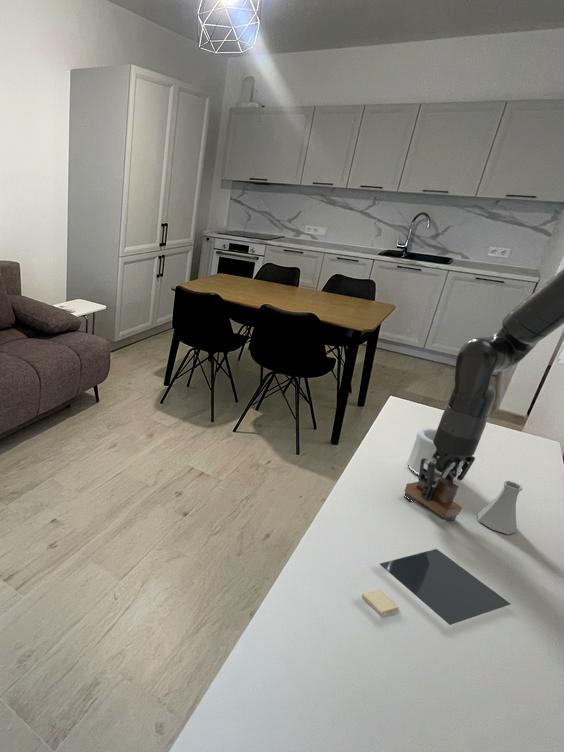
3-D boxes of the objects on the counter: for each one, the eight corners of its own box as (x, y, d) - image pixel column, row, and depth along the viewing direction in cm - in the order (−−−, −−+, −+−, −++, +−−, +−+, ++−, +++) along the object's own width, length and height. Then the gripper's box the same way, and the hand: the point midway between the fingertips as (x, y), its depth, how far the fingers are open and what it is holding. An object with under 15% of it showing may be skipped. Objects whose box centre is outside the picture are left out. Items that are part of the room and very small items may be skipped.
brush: (416, 493, 116) (427, 464, 113) (456, 520, 107) (469, 489, 104) (402, 496, 114) (412, 466, 111) (441, 523, 106) (454, 492, 103)
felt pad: (377, 595, 85) (379, 588, 85) (397, 613, 82) (399, 606, 81) (359, 600, 84) (362, 593, 83) (378, 619, 80) (381, 612, 80)
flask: (471, 521, 107) (488, 482, 104) (481, 509, 112) (497, 471, 108) (511, 539, 102) (530, 499, 99) (520, 526, 107) (538, 487, 103)
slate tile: (435, 552, 97) (436, 548, 96) (509, 608, 85) (511, 603, 84) (377, 567, 92) (379, 563, 91) (447, 629, 79) (449, 624, 79)
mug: (444, 489, 119) (458, 452, 115) (398, 467, 127) (410, 433, 123) (466, 473, 126) (480, 439, 123) (422, 454, 134) (434, 421, 131)
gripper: (453, 441, 97) (425, 513, 104) (501, 434, 102) (472, 502, 109) (419, 424, 104) (396, 492, 110) (466, 418, 109) (441, 483, 115)
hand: (434, 497), depth 109 cm, fingers closed on brush, 4 cm apart
